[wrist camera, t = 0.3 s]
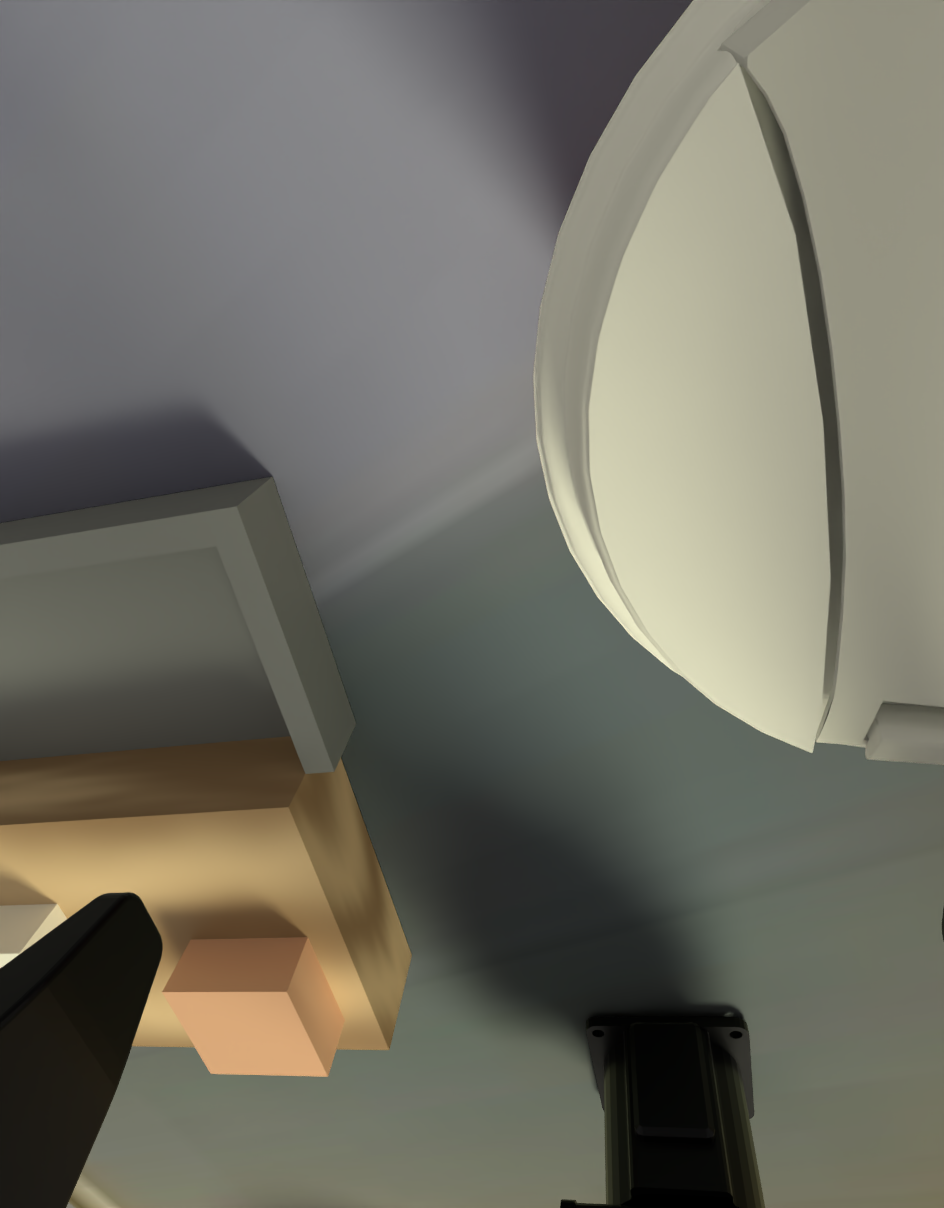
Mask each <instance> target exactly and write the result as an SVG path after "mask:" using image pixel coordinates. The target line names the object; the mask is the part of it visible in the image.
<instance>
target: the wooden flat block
mask: <svg viewBox="0 0 944 1208" xmlns="http://www.w3.org/2000/svg"><path fill="white" fill-rule="evenodd" d="M123 892H131V893H135V894H136V895H138V896H139V897H140V898H141V900H142V902H143V903H144V905H145V907H146V909H147V911H148V913H149V914H150V916H151V918H152V920H153V922H154V924H155V925H156V927H157V929H158V931H159V933H160V935H161V937H162V942H163V951H162V957H161V961H160V964H159V967H158V970H157V973H156V976H155V979H154V981H153V984H152V987H151V990H150V993H149V996H148V999H147V1002H146V1005H145V1008H144V1011H143V1014H142V1017H141V1020H140V1023H139V1026H138V1029H137V1032H136V1035H135V1038H134V1041H133V1044H132V1046H156V1047H195V1046H194V1045H193V1043H192V1041H191V1040H190V1038H189V1036H188V1035H187V1033H186V1031H185V1030H184V1028H183V1026H182V1025H181V1023H180V1021H179V1020H178V1018H177V1016H176V1015H175V1013H174V1011H173V1010H172V1008H171V1007H170V1005H169V1003H168V1002H167V1000H166V998H165V997H164V995H163V993H162V991H163V989H164V987H165V986H166V984H167V982H168V980H169V978H170V976H171V975H172V973H173V971H174V969H175V967H176V965H177V964H178V962H179V960H180V958H181V956H182V955H183V953H184V951H185V949H186V947H187V945H188V944H189V942H190V940H194V939H243V938H291V937H308V938H309V941H310V943H311V945H312V947H313V950H314V952H315V954H316V956H317V959H318V961H319V963H320V965H321V968H322V970H323V972H324V974H325V977H326V979H327V981H328V983H329V986H330V988H331V990H332V992H333V995H334V997H335V999H336V1001H337V1004H338V1006H339V1008H340V1010H341V1013H342V1015H343V1017H344V1019H345V1022H344V1025H343V1028H342V1032H341V1035H340V1038H339V1042H338V1045H337V1048H336V1049H352V1050H389V1049H390V1045H391V1040H392V1036H393V1032H394V1028H395V1024H396V1019H397V1015H398V1011H399V1007H400V1003H401V998H402V994H403V990H404V986H405V982H406V977H407V973H408V969H409V965H410V961H411V956H412V954H411V952H410V949H409V946H408V943H407V941H406V938H405V935H404V932H403V929H402V927H401V924H400V921H399V918H398V915H397V913H396V910H395V907H394V904H393V902H392V899H391V896H390V893H389V890H388V888H387V885H386V882H385V879H384V876H383V874H382V871H381V868H380V865H379V863H378V860H377V857H376V854H375V851H374V849H373V846H372V843H371V840H370V838H369V835H368V832H367V829H366V826H365V824H364V821H363V818H362V815H361V812H360V810H359V807H358V804H357V801H356V799H355V796H354V793H353V790H352V787H351V785H350V782H349V779H348V776H347V773H346V771H345V768H344V765H343V762H342V760H341V758H340V761H339V763H338V765H337V767H336V769H335V772H326V773H312V774H305V772H304V769H303V767H302V764H301V762H300V759H299V756H298V754H297V751H296V749H295V746H294V744H293V741H292V739H291V736H288V737H276V738H265V739H253V740H241V741H230V742H218V743H206V744H195V745H183V746H171V747H160V748H148V749H136V750H125V751H113V752H101V753H90V754H78V755H66V756H55V757H43V758H31V759H20V760H8V761H0V906H5V905H35V904H58V905H59V907H60V909H61V910H62V912H63V913H64V915H65V916H66V918H67V919H68V918H69V917H71V916H72V915H73V914H75V913H76V912H77V911H79V910H80V909H81V908H83V907H84V906H86V905H87V904H88V903H90V902H91V901H92V900H94V899H95V898H97V897H98V896H100V895H102V894H106V893H123Z"/></svg>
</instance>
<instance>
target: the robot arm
mask: <svg viewBox="0 0 944 1208" xmlns="http://www.w3.org/2000/svg"><path fill="white" fill-rule="evenodd" d="M942 935H943V940H944V909H943V918H942ZM162 951H163V942H162V937H161V935H160V933H159V931H158V929H157V927H156V925H155V924H154V922H153V920H152V918H151V916H150V914H149V913H148V911H147V909H146V907H145V905H144V903H143V902H142V900H141V898H140V897H139V896H138V895H136V894H135V893H131V892H123V893H106V894H102V895H100V896H98V897H97V898H95V899H94V900H92V901H91V902H90V903H88V904H87V905H86V906H84V907H83V908H81V909H80V910H79V911H77V912H76V913H75V914H73V915H72V916H71V917H69V918H68V919H67V920H65V921H64V922H62V923H61V924H60V925H58V926H57V927H56V928H54V929H53V930H52V931H50V932H49V933H48V934H46V935H45V936H43V937H42V938H41V939H39V940H38V941H37V942H35V943H34V944H33V945H31V946H30V947H29V948H27V949H26V950H25V951H23V952H22V953H20V954H19V955H18V956H16V957H15V958H14V959H12V960H11V961H10V962H8V963H7V964H6V965H4V966H3V967H1V968H0V1208H66V1207H67V1204H68V1202H69V1200H70V1197H71V1195H72V1193H73V1190H74V1188H75V1186H76V1184H77V1181H78V1179H79V1177H80V1174H81V1172H82V1170H83V1167H84V1165H85V1163H86V1160H87V1158H88V1156H89V1153H90V1151H91V1149H92V1147H93V1144H94V1142H95V1140H96V1137H97V1135H98V1133H99V1130H100V1128H101V1126H102V1123H103V1121H104V1119H105V1116H106V1114H107V1112H108V1109H109V1107H110V1104H111V1102H112V1100H113V1097H114V1095H115V1092H116V1090H117V1087H118V1084H119V1081H120V1079H121V1076H122V1073H123V1070H124V1068H125V1065H126V1062H127V1059H128V1056H129V1053H130V1050H131V1047H132V1044H133V1041H134V1038H135V1035H136V1032H137V1029H138V1026H139V1023H140V1020H141V1017H142V1014H143V1011H144V1008H145V1005H146V1002H147V999H148V996H149V993H150V990H151V987H152V984H153V981H154V979H155V976H156V973H157V970H158V967H159V964H160V961H161V957H162ZM586 1035H587V1039H588V1044H589V1048H590V1053H591V1057H592V1062H593V1067H594V1071H595V1076H596V1080H597V1085H598V1089H599V1094H600V1099H601V1103H602V1108H603V1110H604V1113H605V1170H606V1204H586V1203H577V1202H576V1200H563V1199H562V1200H561V1206H560V1208H765V1204H764V1199H763V1193H762V1187H761V1182H760V1176H759V1170H758V1165H757V1159H756V1153H755V1148H754V1142H753V1137H752V1131H751V1125H750V1120H749V1119H750V1118H752V1117H753V1116H754V1103H753V1087H752V1072H751V1056H750V1040H749V1031H748V1026H747V1023H746V1022H745V1021H744V1020H743V1019H740V1018H735V1017H592V1018H590V1019H588V1020H587V1022H586Z"/></svg>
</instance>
